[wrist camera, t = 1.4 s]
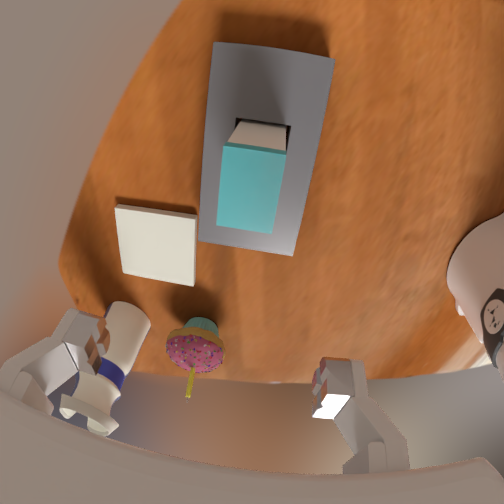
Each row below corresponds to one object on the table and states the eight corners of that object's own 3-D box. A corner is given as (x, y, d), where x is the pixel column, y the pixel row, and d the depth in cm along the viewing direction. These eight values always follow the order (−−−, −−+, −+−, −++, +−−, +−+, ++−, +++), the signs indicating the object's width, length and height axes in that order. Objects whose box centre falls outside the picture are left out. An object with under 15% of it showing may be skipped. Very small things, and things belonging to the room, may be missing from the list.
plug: (286, 120, 29) (286, 155, 20) (276, 177, 33) (271, 234, 24) (244, 114, 29) (223, 145, 20) (237, 170, 33) (216, 225, 24)
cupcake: (233, 345, 49) (221, 412, 39) (182, 343, 50) (163, 406, 40) (224, 306, 44) (207, 379, 34) (167, 306, 45) (141, 373, 36)
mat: (197, 215, 36) (195, 219, 35) (195, 281, 42) (193, 286, 41) (118, 203, 36) (114, 207, 35) (125, 268, 42) (123, 272, 41)
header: (329, 58, 25) (335, 59, 22) (292, 237, 37) (292, 256, 34) (221, 42, 25) (213, 41, 22) (205, 223, 37) (198, 240, 34)
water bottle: (141, 343, 52) (93, 474, 32) (100, 317, 49) (38, 445, 29) (162, 322, 48) (109, 472, 27) (115, 292, 45) (43, 439, 25)
